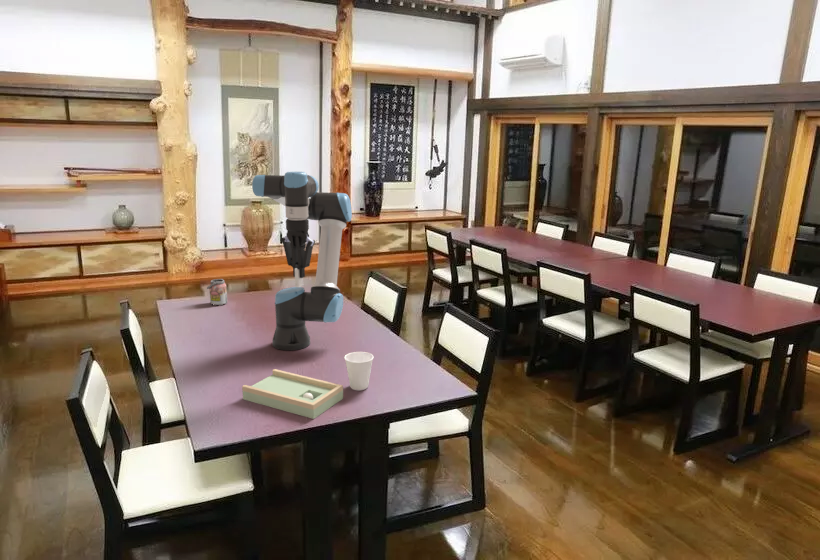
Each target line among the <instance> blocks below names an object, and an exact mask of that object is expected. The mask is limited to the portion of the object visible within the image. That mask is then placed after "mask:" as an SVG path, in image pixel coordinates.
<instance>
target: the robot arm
mask: <svg viewBox="0 0 820 560" xmlns="http://www.w3.org/2000/svg"><path fill="white" fill-rule="evenodd" d="M251 183H252V185H251V187H252V188H251V189H252V193H253V194H254V196H255V197H261V198H265V197H267V198H269V199H272V200H274V201H275V202H276V203H278V204H281V205H282V206H285V219H286V220H285V229H286V233H285V234H286V235H285V236H284V237H283V236H282V237H281V238H280V241H281V243H282V245H283V249H284V252H285V258H286V262H287V266H290V267H292V273H293V275H292V276H293V277H294V286H292V287H286V288H283V289H280V290H278V291H277V292H276V293H275V294H274V295H275V297H274V306H275V307H274V309H275V326H276V327H275V330H274V333H273V337H272V348H275V349H277V350H281V351H297V350H301V349H305V348H307V347H309V346H310V345H311V336H310V335H309V332H308V331H309V330H308V329H307V326H306V322H316V323H317V322H318V323H326V324H327V323H336V322H337V321H338V320H339V319H340V318H341V315H342V311H343V309H344V295H343V294H342V293H341V289H340V288H339V287H338V286H337V285H338V276H339V275H338V274H339V266H340V265H339V264H340V256H341V255H340V254H341V247H342V246H341V245H342V236H343V230H344V229H345V228H346V227H347V223H348V222H351V221H352V218H353V210H352V203H351V199H350V197H349V195H348V194H347V193H344V192H320V191H319V188H320V187H319V186H320V185H319V182H318V180H317V178H316V177H314V176H312V175H308V174H307V172H305V171H287V172H285V173H284V175H278V174H277V175H276V174H275V175H274V174H273V175H272V174H256V175H255V176H254V177H253V179H252V182H251ZM318 191H319V192H318ZM309 221H317V223H318V225H319V226H320V227H321V229H320V237H319V248H318V255H317V264H316V265H317V266H316V274H315V281H314V284H313V285H312V286H310V291H306V290H305V287H304V286H305V285H304V278H305V277H306V274H305V272H306V271H305V269H306V268H307V267H310V264H311V259H312V254H313V247H314V246H315V243H316V241H315V239H311V238H310V233H309V232H308V231H309V229H310V226H309Z"/></svg>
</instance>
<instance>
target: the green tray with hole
mask: <svg viewBox="0 0 820 560" xmlns="http://www.w3.org/2000/svg"><path fill="white" fill-rule="evenodd" d="M305 393H311V394H312V395H313V400H310V399H306V398H303V395H304V394H305ZM242 399H243V400H244V401H248V402H250V403H255V404H258V405H262V406H265V407H269V408H273V409H277V410H280V411H284V412H287V413H291V414H295V415H299V416H301V417H306V418H309V419H316V418H318V417H319V416H320V415H322V414H323V413H324V412H326V411H327V410H329V409H330V408H332V407H333V406H335V405H336V404H337V403H339V402H341V401H342V400H343V399H344V385H343V384H338V383H334V382H330V381H327V380H322V379H318V378H314V377H310V376H306V375H301V374H297V373H293V372H289V371H285V370H280V369H276V368H274V369H272V374H271V375H269V376H267V377H265V378H264V379H261V380H260V381H258V382H256V383H254V384H252V385H247V384H244V385H242Z"/></svg>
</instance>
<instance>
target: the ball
mask: <svg viewBox="0 0 820 560" xmlns="http://www.w3.org/2000/svg"><path fill="white" fill-rule="evenodd" d="M303 398H306V399H310V400H313V395H312V394H311V393H305V394H304V395H303Z"/></svg>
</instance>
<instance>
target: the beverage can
mask: <svg viewBox="0 0 820 560" xmlns="http://www.w3.org/2000/svg"><path fill="white" fill-rule="evenodd" d="M206 290H208V291H209V301H210V304H211V305H212V304H214V305H221V306H224V305H223V304H225V305H226V304H228V291H227V284H226V282H225V280H224V279H223V278H217V279H212V280H210V284H209V285H208V286H207V287H206ZM214 305H213V306H214Z"/></svg>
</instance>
